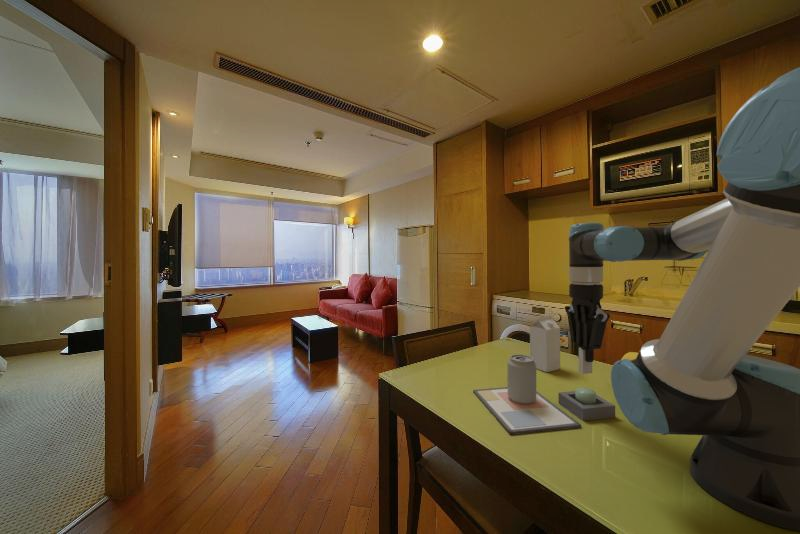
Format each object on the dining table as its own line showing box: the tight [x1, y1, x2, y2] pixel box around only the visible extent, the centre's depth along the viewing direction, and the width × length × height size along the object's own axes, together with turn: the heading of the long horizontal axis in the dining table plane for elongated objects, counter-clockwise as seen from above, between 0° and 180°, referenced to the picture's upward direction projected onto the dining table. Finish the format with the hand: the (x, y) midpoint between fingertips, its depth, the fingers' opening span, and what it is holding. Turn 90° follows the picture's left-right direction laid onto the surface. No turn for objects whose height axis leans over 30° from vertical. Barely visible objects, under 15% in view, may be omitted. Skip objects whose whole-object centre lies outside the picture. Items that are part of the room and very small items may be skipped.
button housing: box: [557, 390, 616, 422], centre depth 78 cm, size 9×9×3 cm
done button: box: [574, 387, 597, 405], centre depth 78 cm, size 5×5×3 cm
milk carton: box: [529, 314, 561, 373], centre depth 108 cm, size 7×7×19 cm
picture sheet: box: [472, 386, 582, 436], centre depth 80 cm, size 22×18×1 cm
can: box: [506, 353, 537, 404], centre depth 83 cm, size 8×8×12 cm
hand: (585, 372), depth 78 cm, fingers closed
